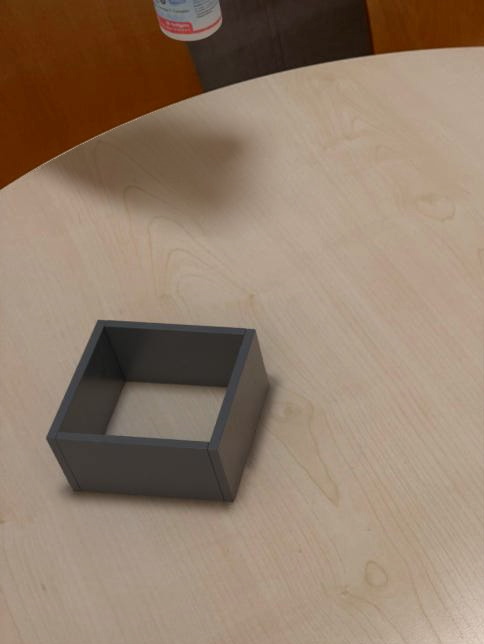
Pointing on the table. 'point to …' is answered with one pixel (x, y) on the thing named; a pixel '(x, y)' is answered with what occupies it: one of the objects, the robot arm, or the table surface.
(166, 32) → the pill bottle
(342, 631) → the table surface
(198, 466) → the open box
